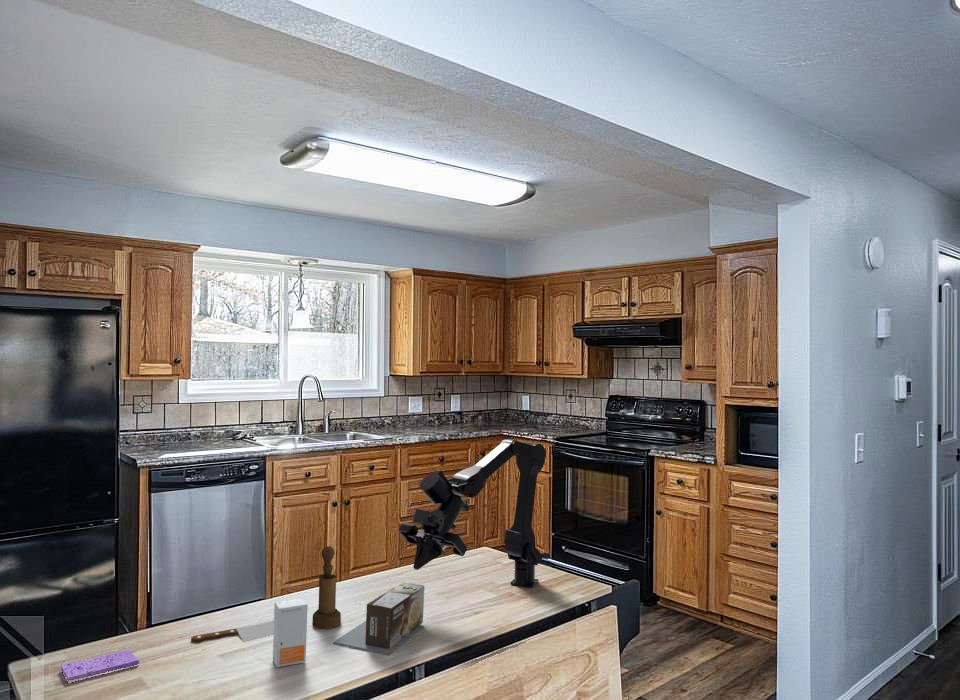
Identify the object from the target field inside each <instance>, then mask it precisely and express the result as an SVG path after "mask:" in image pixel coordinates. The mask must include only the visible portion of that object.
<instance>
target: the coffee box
mask: <svg viewBox="0 0 960 700" xmlns="http://www.w3.org/2000/svg"><path fill="white" fill-rule="evenodd" d="M424 601H425V585H423V584H417V583H412V582H406V581H405V582H404V581H403V582H400V583H399V584H397V585H396V586H394V587H392V588H391V589H389V590H388V591H386V592H384V593H383V594H382V595H379V596H378V597H376V598H375V599H373V600H372V601H370V602H368V603H367V604H366V613H365V614H366V616H365V617H366V619H365V621H366V638H365V644H367V645H371V646H375V647H380V648H381V647H384V648H389V649H390V648H391V647H393V646H394V645H395V644H396V643H398V642H399V641H400V640H401V639H403V638H404V637H405V636H407V635H408V634H409V633H410V632H412V631H413V630H414V629H415V628H417V627H418V626H419V625H422V624H423V622H424V606H425V604H424Z"/></svg>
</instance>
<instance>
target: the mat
mask: <svg viewBox="0 0 960 700" xmlns="http://www.w3.org/2000/svg"><path fill="white" fill-rule="evenodd" d="M424 628H425V625H422V624H421V625H419V626H418V627H417V628H415V629H414V630H413V631H412V632H410V633H409V634H408V635H407V636H405V637H404V638H403V639H401V640H400V641H399V642H398V643H396V644H395V645H394V646H393V647H391V648H390V649H389V648H384V647H381V648H380V647H375V646H371V645H367V644H365V638H366V620H365V621H363V622H362V623H360V624H359V625H357V626H355V627H354V628H352V629H351V630H349V631H348V632H346V633H345V634H343V635H342V636H340V637H339V638H337V639H335V640H334V641H333V642H332V644H333V645H337V646H340V647H341V646H342V647H347V648H352V649H357V650H361V651H367V652H371V653H376V654H382V655H385V656H390V655H391V654H393V652H394V651H396V650H397V649H399V648H400V647H401V646H403V645H404V644H405V643H406V642H408V641H409V640H410V639H412V638H413V637H414V636H416V635H417V634H419V633H420V632H421V631H422V630H424ZM420 630H421V631H420ZM416 633H417V634H416Z"/></svg>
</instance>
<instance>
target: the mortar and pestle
mask: <svg viewBox="0 0 960 700" xmlns="http://www.w3.org/2000/svg"><path fill="white" fill-rule="evenodd" d="M321 557H322V559H323V560H324V565H323V566H322V569H323V574H321V575H319V576H318V607H317V608H318V609H317V610H316V611H315V612H314V613H313V614H312V620H311V622H312V623H311V624H312V626H313V627H315V628H318V629H322V630H323V629H325V630H326V629H333V628H337V627H338V626H340V625H341V623H342V619H341V618H342V615H341V612H340V611H339V610H338V609H337V608H336V601H337V600H336V597H337V596H336V594H337V574H334V573H333V567H334V565H333V564H332V561H333V558H334V557H335V549H334V548H333V547H332V546H329V545H328V546H325V547H323V549H322V550H321Z"/></svg>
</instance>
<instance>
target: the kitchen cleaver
mask: <svg viewBox="0 0 960 700" xmlns="http://www.w3.org/2000/svg"><path fill="white" fill-rule="evenodd" d="M270 635H271V636H270ZM234 636H238V637H239V638H240V639H241V641H242V642H243V643H247V642H250V641H253V640H258V639H259V640H260V639H263V638H267V636H268V637H273V636H274V619H273V620H270V621H267V622H262V623H257V624H251V625H247V626H246V625H245V626H241V627H236V628H235V627H234V628H232V629H225V630H219V631H214V632H213V631H212V632H209V633H203V634H197V635H193V636H191V638H190V642H191V643H194V644H199V643H202V642H206V641H210V640H212V641H213V640H217V639H222V638H226V637H234Z"/></svg>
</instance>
